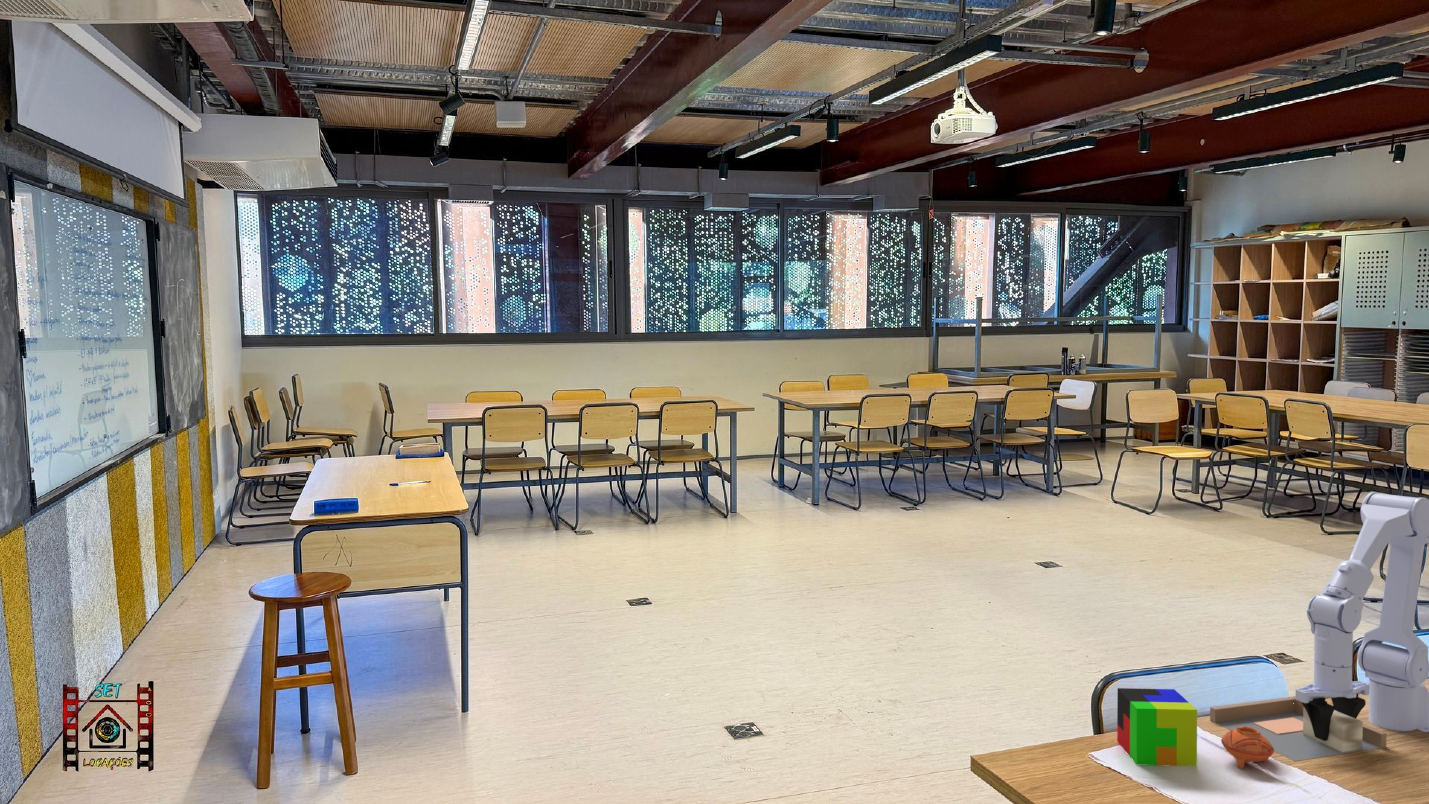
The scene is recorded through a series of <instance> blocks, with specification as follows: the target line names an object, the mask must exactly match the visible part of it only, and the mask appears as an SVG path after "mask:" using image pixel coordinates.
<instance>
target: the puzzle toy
mask: <svg viewBox="0 0 1429 804" xmlns="http://www.w3.org/2000/svg"><path fill="white" fill-rule="evenodd" d="M1116 705H1117V712H1116V713H1117V722H1116V723H1117V725H1116V726H1117V728H1116V729H1117V731H1116V732H1117V733H1116V734H1117V736H1116V737H1117V738H1116V740H1117V743H1118V744H1119V745H1120V747H1123V748H1124V749H1125V750H1124V749H1123V748H1122V749H1123V750H1124V752H1125V753H1126V752H1127V753H1128V754H1129V755H1130V756H1129V755H1128V754H1127V753H1126V754H1127V755H1128V756H1129V757H1130V758H1132V759H1133V760H1134V761H1135V762H1134V761H1133V760H1132V759H1131V760H1132V761H1133V762H1134V763H1136V764H1147V765H1146V766H1162V765H1169V767H1170V766H1171V767H1178V766H1179V767H1198V766H1197V765H1198V709H1197V708H1196V707H1195V706H1193V704H1192V703H1190V702H1189V701H1188V700H1187V699H1186V698H1184V696H1183V695H1181V694H1180V693H1179V692H1178V691H1177V690H1176V689H1174V688H1134V687H1133V688H1132V687H1131V688H1129V687H1126V688H1124V687H1122V688H1121V687H1118V688H1117V704H1116ZM1136 764H1135V765H1136ZM1148 764H1149V765H1148Z"/></svg>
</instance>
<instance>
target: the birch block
mask: <svg viewBox="0 0 1429 804" xmlns="http://www.w3.org/2000/svg"><path fill="white" fill-rule="evenodd" d="M1363 724H1364V723H1363V721H1362V720H1360V719H1357V718H1356V719H1355V718H1353V717H1350V716H1348V715H1345V714H1343V713H1340V712H1338V711H1335V710H1334V712H1333V714H1332V717H1331V721H1330V728H1329V736H1328V740H1327V741H1323V740H1321V739H1319V738H1317V737H1315V735H1314V731H1313V728H1312V724H1311V721H1310V718H1309V716H1308V713H1307V711H1306V709H1305V708H1303V735H1305V736H1307V737H1309V738H1311V739H1314V740H1316V741H1318V742H1320V743H1323V744H1325V745H1327V746H1329V747H1332V748H1334V749H1336V750H1338V751H1341V752H1348V751H1355V750H1361V749H1362V736H1363Z"/></svg>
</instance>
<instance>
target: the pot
mask: <svg viewBox="0 0 1429 804" xmlns="http://www.w3.org/2000/svg"><path fill="white" fill-rule="evenodd" d="M1220 742H1221V744H1222V746H1223V748H1225V750H1226V751H1227V752H1228V754H1230V755H1231V756H1232V757H1233V758H1235V761H1236V765H1237V767H1238V769H1240V770H1243V768H1244V766H1245V763H1246V762H1248V763H1259V762H1260V763H1261V762H1264V763H1265V762H1268V761H1269V758H1270V757H1272V755H1273V754H1274V748H1273V747H1272V745H1271V744H1270V742H1269V741H1268V740H1267V739H1266V738H1265V737H1264V736H1262V735H1261V734H1260V731H1258V730H1256V729H1254V728H1251V727H1245V726H1242V727H1236V729H1234V730H1229V731H1227V732H1226V733H1225V734H1224V735H1222V737H1221V739H1220Z"/></svg>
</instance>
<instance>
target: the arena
mask: <svg viewBox="0 0 1429 804" xmlns="http://www.w3.org/2000/svg"><path fill="white" fill-rule="evenodd" d="M1295 698H1296V695H1295V696H1289V697H1288V696H1287V697H1281V698H1280V697H1279V698H1272V699H1266V700H1265V699H1264V700H1256V701H1249V702H1242V703H1240V702H1239V703H1232V704H1226V705H1219V706H1211V707H1209V709H1210V710H1209V712H1210V713H1209V720H1210V721H1211V723H1212V722H1213V723H1214V724H1217V725H1219V726H1221V727H1223V728H1225V729H1226V730H1227V729H1228V730H1229V731H1231V730H1234V729H1236V727H1242V726H1245V727H1251V728H1254V729H1256V730H1258V731H1260V734H1261V735H1262V736H1264V737H1265V738H1266V739H1267V740H1268V741H1269V742H1270V744H1271V745H1272V747H1273V748H1274V752H1275V753H1277V754H1279V755H1280V756H1283V757H1285V758H1287V759H1288V760H1289V759H1290V760H1291V761H1294V762H1299V761H1306V760H1312V759H1313V760H1314V759H1319V758H1325V757H1333V756H1338V755H1339V756H1340V755H1346V754H1353V753H1359V752H1365V751H1374V750H1377V749H1378V750H1379V749H1385V748H1387V737H1388V736H1387V732H1384V731H1381V730H1380V729H1377V728H1374V727H1372V726H1370V725H1367V724H1364V723H1363V736H1362V749H1361V750H1355V751H1348V752H1341V751H1338V750H1336V749H1334V748H1332V747H1329V746H1327V745H1325V744H1323V743H1320V742H1318V741H1316V740H1314V739H1311V738H1309V737H1307V736H1305V735H1303V708H1304V706H1303V704H1302V703H1301V702H1300V701H1298V700H1296V699H1295ZM1293 703H1294V704H1293Z"/></svg>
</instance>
